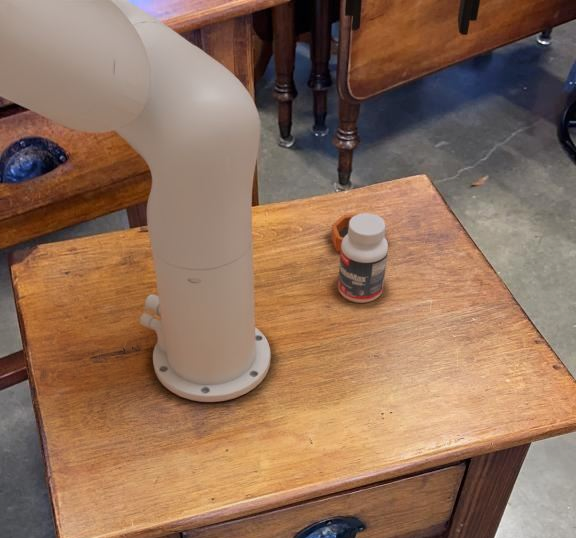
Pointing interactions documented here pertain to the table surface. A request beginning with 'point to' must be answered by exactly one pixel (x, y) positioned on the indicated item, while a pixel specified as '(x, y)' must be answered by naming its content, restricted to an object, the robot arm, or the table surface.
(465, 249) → the table surface
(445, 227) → the table surface
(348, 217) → the bowl
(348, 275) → the pill bottle
